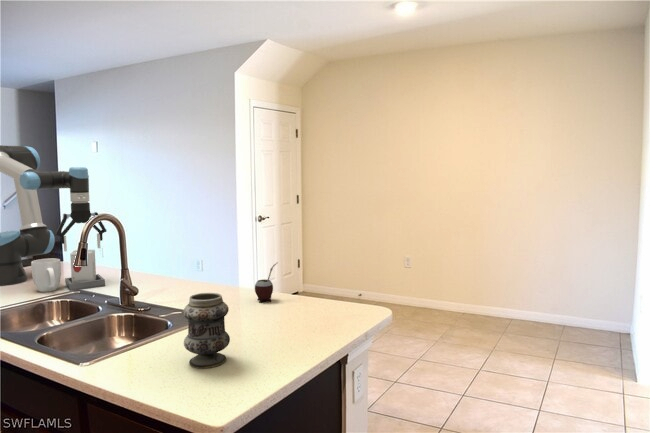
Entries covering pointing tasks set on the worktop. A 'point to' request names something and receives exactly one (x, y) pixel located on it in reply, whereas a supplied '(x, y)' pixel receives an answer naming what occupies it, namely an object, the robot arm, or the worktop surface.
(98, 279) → the tray
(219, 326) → the apothecary jar
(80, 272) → the supplement box
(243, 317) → the worktop surface
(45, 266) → the mug
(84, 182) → the robot arm
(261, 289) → the mate gourd
